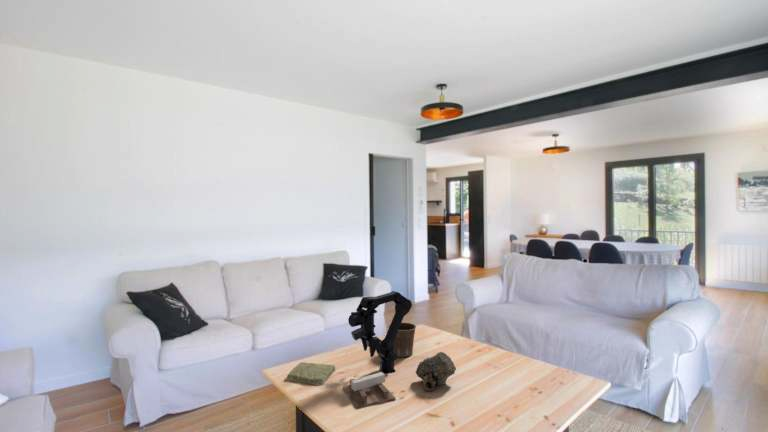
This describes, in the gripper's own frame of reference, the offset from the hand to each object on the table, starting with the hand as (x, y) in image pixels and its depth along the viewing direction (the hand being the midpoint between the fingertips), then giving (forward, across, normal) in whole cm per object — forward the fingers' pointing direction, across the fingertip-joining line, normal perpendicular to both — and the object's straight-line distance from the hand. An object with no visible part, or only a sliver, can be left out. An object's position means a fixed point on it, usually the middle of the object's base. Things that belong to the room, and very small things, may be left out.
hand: (368, 353), depth 194 cm
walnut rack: (+12, +16, -6) cm, 21 cm away
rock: (+12, +20, +25) cm, 34 cm away
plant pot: (+12, -22, +29) cm, 38 cm away
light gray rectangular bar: (+8, +16, -6) cm, 19 cm away
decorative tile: (+13, -14, -26) cm, 32 cm away
